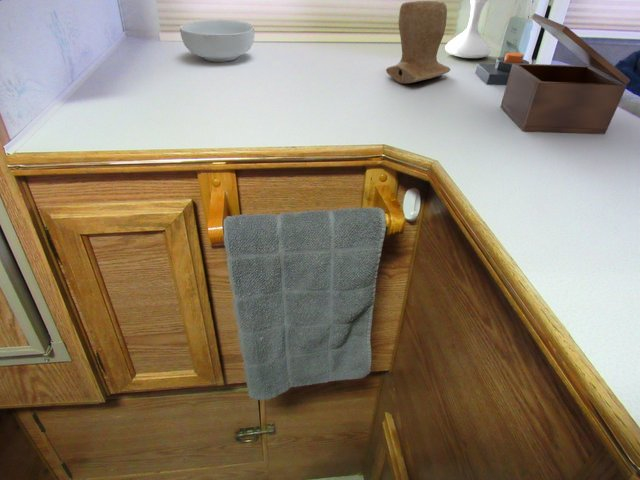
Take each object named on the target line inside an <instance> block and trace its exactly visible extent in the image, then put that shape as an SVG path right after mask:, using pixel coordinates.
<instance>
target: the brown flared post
mask: <svg viewBox="0 0 640 480" xmlns="http://www.w3.org/2000/svg"><path fill="white" fill-rule="evenodd" d="M398 12H399V13H398V14H399V15H398V23H397V24H398V31H399V37H400V44H401V58H400V61H399V62H397V63H396V64H393V65H392V66H389V67H387V68H386V69H385V70H386V73H387V74H388V75H389V76H390V77H391V78H392V79H393V80H394V81H395V82H397V83H400V84H412V83H418V82H421V81H427V80H430V79H433V78H436V77H440V76H442V75H445V74H448V73H449V72H450V71H451V68H450V67H449V66H447V65H444V64H443V63H440V62H438V59H437V57H438V56H437V55H438V53H439V49H440V46H441V43H442V41H443V38H444V36H445V33H446V32H445V31H446V27H447V17H448V8H447V5H446V3H445V1H438V0H416V1H406V2H403V3H402V4H401V5H400V7H399V11H398Z"/></svg>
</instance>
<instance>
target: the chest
mask: <svg viewBox="0 0 640 480" xmlns="http://www.w3.org/2000/svg"><path fill="white" fill-rule="evenodd" d="M627 87H628V85H627V84H624V83H622V82H620V81H618V80H616V79H614V78H612V77H610V76H609V75H607V74H605V73H603V72H601V71H599V70H597V69H595V68H593V67H591V66H589V65H574V64H573V65H571V64H546V63H545V64H541V63H529V64H516V63H513V64H512V68H511V71H510V75H509V78H508V82H507V85H505V89H504V93H503V96H502V100H501V103H500V107H499V108H500V109H502V111H503V112H504V113H505V114H506V115H507V116H508V117H509V118H510V119H511V120H512V121H513V122H514V123H515V124H516V125H517V127H518V128H520V129H521V130H522V131H523V132H535V131H537V132H538V131H540V132H538V133H567V134H569V133H570V134H573V133H574V134H595V133H598V134H599V133H606V134H607V131H608V129H609V127H610V125H611V123H612V120H613V118H614V115H615V114H616V111H617V109H618V106H619V104H620V102H621V101H622V97H623V95H624V94H625V91H626V90H627ZM598 134H597V135H598ZM599 135H600V134H599Z"/></svg>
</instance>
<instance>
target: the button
mask: <svg viewBox="0 0 640 480" xmlns="http://www.w3.org/2000/svg"><path fill="white" fill-rule="evenodd" d="M504 57H505V59H504V61H505V62H509V63H522V60H524V54H523V53H522V52H521V53H520V52H513V51H508V52H506V53H505V56H504Z"/></svg>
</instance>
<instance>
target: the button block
mask: <svg viewBox="0 0 640 480" xmlns="http://www.w3.org/2000/svg"><path fill="white" fill-rule="evenodd" d="M504 59H505V56H501V57H498V58H497V59H496V61H495V63H479V62H478V63H477V64H476V67H475V72H474V73H475V75H476V76H478V77H479V79H480V80H481V81H482V82H484V83H485V85H487V86H506V85H507V82H508V78H509V75H510V71H511V68H512V64H513V63H509V62H505V61H504ZM516 64H530V62H529V61H528V60H527V59H523V60H522V63H516Z"/></svg>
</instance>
